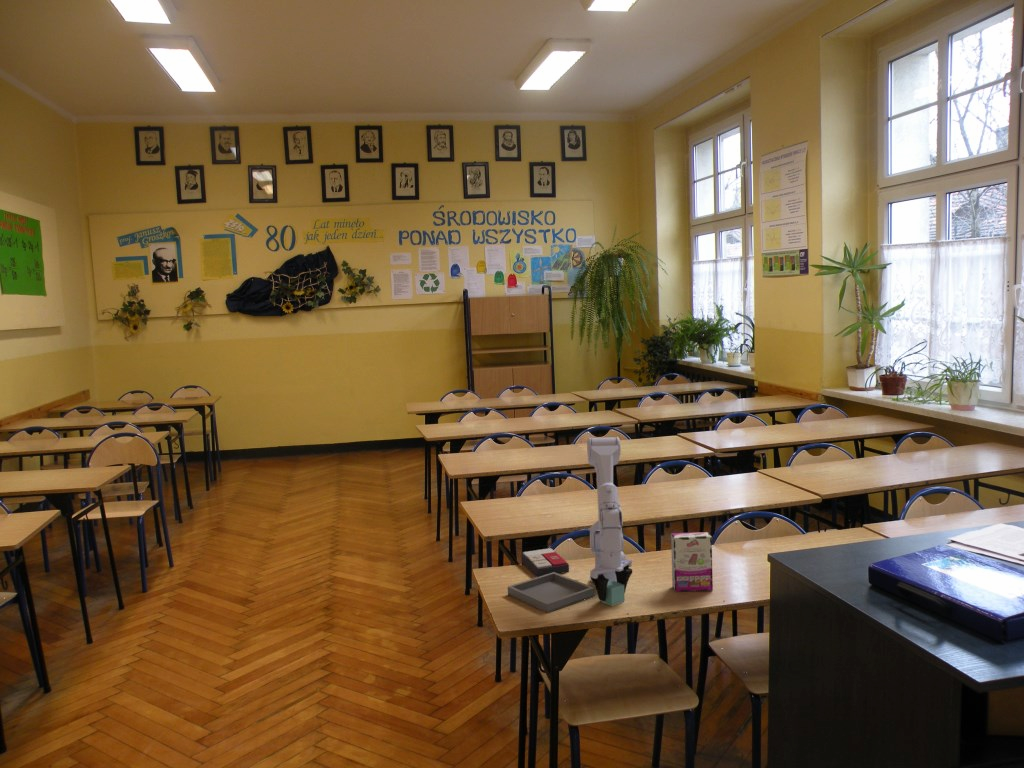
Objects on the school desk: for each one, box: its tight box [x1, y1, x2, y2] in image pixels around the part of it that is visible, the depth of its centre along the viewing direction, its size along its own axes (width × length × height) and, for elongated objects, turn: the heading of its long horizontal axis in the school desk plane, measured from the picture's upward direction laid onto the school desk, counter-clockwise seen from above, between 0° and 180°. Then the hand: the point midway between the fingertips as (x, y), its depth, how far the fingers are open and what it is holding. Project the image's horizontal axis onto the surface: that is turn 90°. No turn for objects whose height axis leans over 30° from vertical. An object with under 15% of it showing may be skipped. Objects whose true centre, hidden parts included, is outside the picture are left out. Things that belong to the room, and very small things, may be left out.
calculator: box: [520, 548, 570, 577], centre depth 248 cm, size 11×4×15 cm
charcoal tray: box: [507, 572, 596, 614], centre depth 224 cm, size 18×18×2 cm
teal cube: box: [599, 580, 626, 607], centre depth 218 cm, size 5×5×5 cm
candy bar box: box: [670, 531, 714, 593], centre depth 225 cm, size 11×5×16 cm, turn 89°
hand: (611, 596), depth 218 cm, fingers open, 7 cm apart
